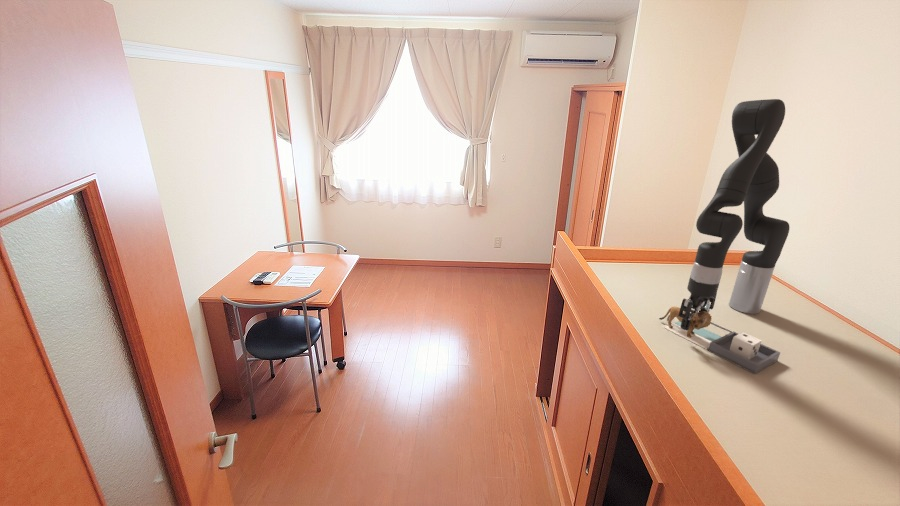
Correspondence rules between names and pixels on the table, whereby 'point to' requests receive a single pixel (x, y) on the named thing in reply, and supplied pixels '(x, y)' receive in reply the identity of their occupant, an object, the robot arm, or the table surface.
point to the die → (745, 345)
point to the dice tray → (753, 365)
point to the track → (696, 334)
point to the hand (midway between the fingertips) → (692, 325)
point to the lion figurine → (697, 320)
